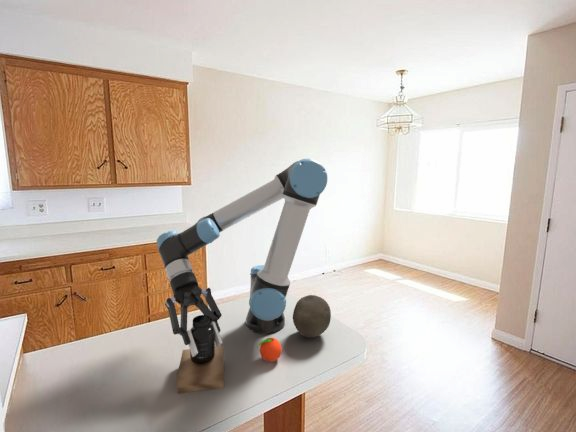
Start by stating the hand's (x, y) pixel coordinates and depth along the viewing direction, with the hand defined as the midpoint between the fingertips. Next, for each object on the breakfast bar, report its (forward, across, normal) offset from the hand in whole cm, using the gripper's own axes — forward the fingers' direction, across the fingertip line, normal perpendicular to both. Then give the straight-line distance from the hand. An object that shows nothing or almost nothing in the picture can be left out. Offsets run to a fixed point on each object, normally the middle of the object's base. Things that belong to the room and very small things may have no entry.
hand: (207, 349), depth 83 cm
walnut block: (+4, 0, -9) cm, 10 cm away
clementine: (+9, -19, -5) cm, 22 cm away
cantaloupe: (+9, -40, -6) cm, 41 cm away
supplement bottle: (+1, 0, -6) cm, 6 cm away
